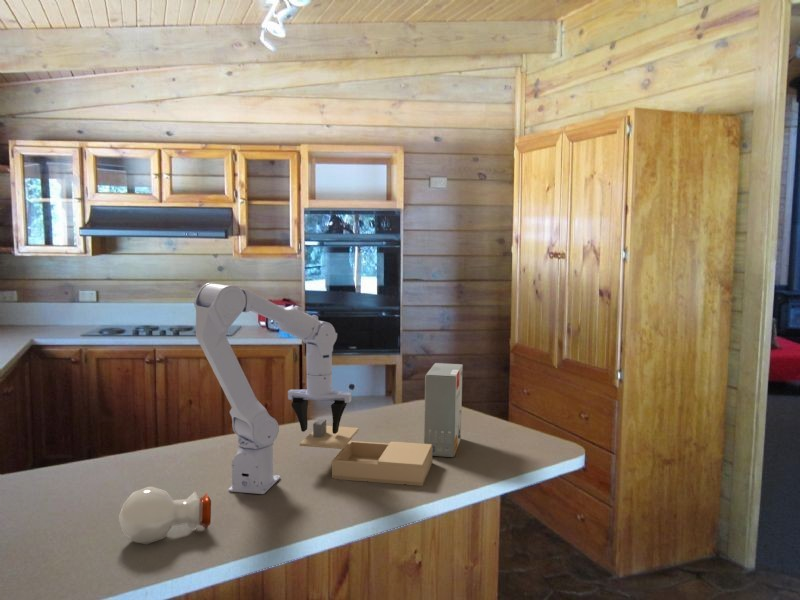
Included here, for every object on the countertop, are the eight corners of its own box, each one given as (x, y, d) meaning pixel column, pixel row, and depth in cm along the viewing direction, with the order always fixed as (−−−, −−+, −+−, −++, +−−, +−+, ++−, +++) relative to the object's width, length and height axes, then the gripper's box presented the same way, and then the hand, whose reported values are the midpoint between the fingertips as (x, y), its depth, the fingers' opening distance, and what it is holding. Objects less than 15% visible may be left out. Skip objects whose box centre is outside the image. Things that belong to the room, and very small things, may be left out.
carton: (422, 486, 140) (422, 465, 140) (332, 478, 144) (331, 458, 144) (432, 463, 154) (432, 443, 153) (349, 456, 158) (349, 438, 157)
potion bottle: (114, 551, 114) (202, 543, 121) (121, 538, 107) (214, 530, 114) (115, 498, 119) (200, 492, 126) (122, 482, 111) (212, 477, 118)
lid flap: (342, 449, 143) (342, 432, 143) (299, 445, 145) (299, 430, 145) (358, 430, 156) (358, 415, 156) (319, 427, 158) (319, 413, 158)
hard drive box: (454, 458, 157) (455, 376, 155) (423, 456, 158) (423, 374, 156) (461, 438, 172) (462, 363, 170) (432, 436, 174) (433, 361, 171)
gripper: (354, 370, 152) (355, 428, 153) (295, 368, 155) (295, 424, 156) (346, 377, 145) (346, 437, 147) (284, 374, 148) (285, 433, 149)
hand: (319, 431), depth 151 cm, fingers open, 7 cm apart
